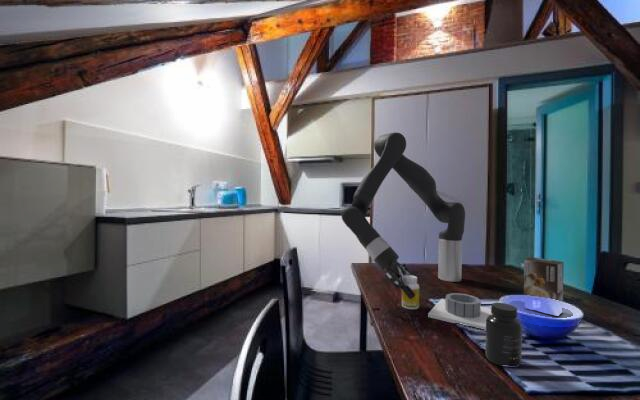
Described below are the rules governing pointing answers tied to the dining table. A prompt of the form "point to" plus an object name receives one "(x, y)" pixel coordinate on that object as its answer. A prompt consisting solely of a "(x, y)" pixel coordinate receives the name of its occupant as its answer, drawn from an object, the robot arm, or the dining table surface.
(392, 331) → the dining table surface
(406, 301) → the supplement bottle
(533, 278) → the coffee box
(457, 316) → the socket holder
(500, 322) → the supplement bottle
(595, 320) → the dining table surface
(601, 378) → the dining table surface
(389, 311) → the dining table surface
